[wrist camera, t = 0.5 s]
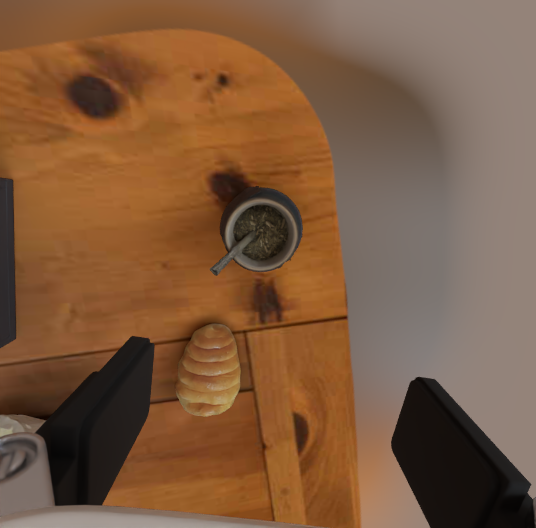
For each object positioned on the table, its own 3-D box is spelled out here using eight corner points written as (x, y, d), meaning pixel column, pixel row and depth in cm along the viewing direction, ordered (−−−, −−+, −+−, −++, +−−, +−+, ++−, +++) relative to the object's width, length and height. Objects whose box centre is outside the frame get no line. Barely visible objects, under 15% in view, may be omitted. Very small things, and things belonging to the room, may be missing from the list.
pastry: (184, 316, 31) (174, 332, 27) (248, 323, 31) (246, 341, 28) (178, 393, 33) (168, 418, 29) (238, 399, 33) (235, 424, 30)
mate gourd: (313, 225, 29) (339, 241, 19) (259, 277, 30) (258, 316, 20) (262, 171, 28) (263, 158, 18) (208, 227, 29) (180, 243, 19)
